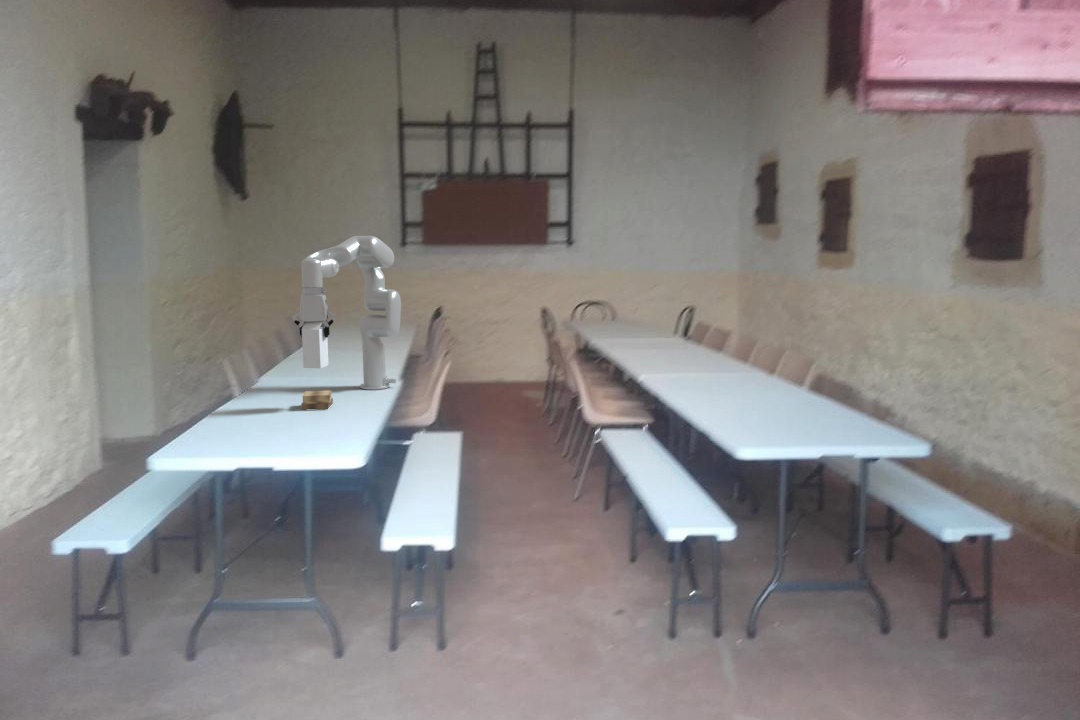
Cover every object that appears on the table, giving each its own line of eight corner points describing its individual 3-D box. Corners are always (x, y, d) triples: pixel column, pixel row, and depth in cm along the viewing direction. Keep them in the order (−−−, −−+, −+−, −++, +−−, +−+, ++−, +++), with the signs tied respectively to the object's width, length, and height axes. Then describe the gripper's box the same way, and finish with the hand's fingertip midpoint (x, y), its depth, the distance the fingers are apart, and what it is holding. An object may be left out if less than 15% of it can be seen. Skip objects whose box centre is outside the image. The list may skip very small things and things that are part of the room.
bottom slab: (333, 405, 347) (332, 398, 347) (328, 411, 338) (328, 403, 337) (307, 406, 347) (307, 398, 346) (301, 411, 337) (301, 403, 337)
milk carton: (320, 368, 335) (318, 319, 332) (303, 368, 337) (301, 318, 334) (328, 365, 342) (326, 317, 339) (311, 365, 344) (309, 316, 341)
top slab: (331, 397, 347) (331, 390, 347) (329, 402, 338) (329, 395, 337) (305, 398, 346) (305, 391, 345) (302, 403, 336) (302, 396, 336)
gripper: (337, 290, 339) (339, 335, 342) (291, 291, 338) (293, 336, 341) (334, 292, 332) (336, 338, 335) (287, 292, 331) (289, 338, 334)
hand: (314, 337), depth 338 cm, fingers closed on milk carton, 8 cm apart
